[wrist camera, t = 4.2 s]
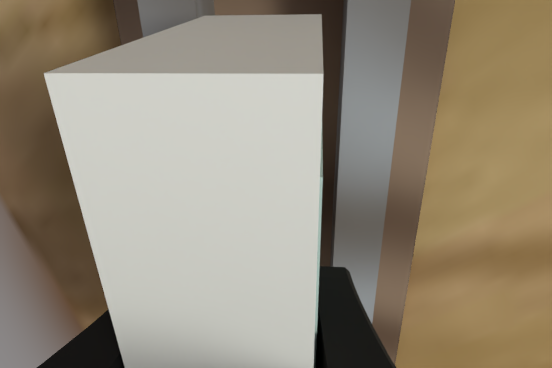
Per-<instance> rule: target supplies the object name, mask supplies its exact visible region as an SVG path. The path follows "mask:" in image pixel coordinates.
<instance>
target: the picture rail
mask: <svg viewBox="0 0 552 368" xmlns="http://www.w3.org/2000/svg"><path fill="white" fill-rule="evenodd" d="M113 2H114V7H115V13H116V18H117V24H118V29H119V35H120V40H121V45H124V44H127V43H130V42H132V41H135V40H138V39H141V38H144V37H146V36H149V35H152V34H155V33H158V32H160V31H163V30H166V29H169V28H172V27H174V26H177V25H180V24H183V23H186V22H188V21H191V20H194V19H197V18H200V17H202V16H216V15H298V14H322V43H323V103H322V149H323V187H322V214H321V241H320V266H330V267H345V268H346V269H347V270H348V271H349V272H350V274H351V278H352V281H353V283H354V286H355V289H356V291H357V293H358V296H359V298H360V300H361V303H362V305H363V307H364V309H365V311H366V313H367V315H368V317H369V319H370V321H371V323H372V325H373V327H374V329H375V331H376V333H377V334H378V336H379V338H380V340H381V342H382V344H383V345H384V347H385V349H386V351H387V353H388V355H389V356H390V358H391V360H392V361H393V363H394V365H395V361H396V355H397V349H398V343H399V337H400V331H401V325H402V318H403V312H404V306H405V300H406V294H407V288H408V282H409V276H410V270H411V264H412V258H413V252H414V246H415V240H416V234H417V228H418V222H419V216H420V210H421V204H422V198H423V191H424V185H425V179H426V173H427V167H428V161H429V155H430V149H431V143H432V137H433V131H434V125H435V119H436V113H437V107H438V101H439V95H440V89H441V83H442V77H443V70H444V64H445V58H446V52H447V46H448V40H449V34H450V28H451V22H452V16H453V10H454V4H455V0H113Z"/></svg>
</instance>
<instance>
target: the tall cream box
mask: <svg viewBox="0 0 552 368" xmlns="http://www.w3.org/2000/svg"><path fill="white" fill-rule="evenodd" d="M44 77H45V80H46V84H47V88H48V91H49V95H50V98H51V102H52V106H53V109H54V113H55V117H56V120H57V124H58V127H59V131H60V135H61V138H62V142H63V146H64V149H65V153H66V156H67V160H68V164H69V167H70V171H71V175H72V178H73V182H74V185H75V189H76V193H77V196H78V200H79V204H80V207H81V211H82V214H83V218H84V222H85V225H86V229H87V233H88V236H89V240H90V244H91V247H92V251H93V254H94V258H95V262H96V265H97V269H98V273H99V276H100V280H101V283H102V287H103V291H104V294H105V298H106V302H107V305H108V309H109V312H110V316H111V320H112V323H113V327H114V331H115V334H116V338H117V341H118V345H119V349H120V352H121V356H122V360H123V363H124V367H125V368H316V348H317V321H318V294H319V267H320V241H321V214H322V187H323V149H322V103H323V43H322V14H298V15H216V16H202V17H200V18H197V19H194V20H191V21H188V22H186V23H183V24H180V25H177V26H174V27H172V28H169V29H166V30H163V31H160V32H158V33H155V34H152V35H149V36H146V37H144V38H141V39H138V40H135V41H132V42H130V43H127V44H124V45H121V46H118V47H116V48H113V49H110V50H107V51H105V52H102V53H99V54H96V55H93V56H91V57H88V58H85V59H82V60H79V61H77V62H74V63H71V64H68V65H65V66H63V67H60V68H57V69H54V70H51V71H49V72H46V73H44Z"/></svg>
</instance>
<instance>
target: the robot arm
mask: <svg viewBox="0 0 552 368" xmlns="http://www.w3.org/2000/svg"><path fill="white" fill-rule="evenodd" d="M37 368H125V367H124V363H123V360H122V356H121V352H120V349H119V345H118V341H117V338H116V334H115V331H114V327H113V323H112V320H111V316H110V312H109V309H108V310H107V311H106V312H105V313H104V314H103V315H102V316H100V317H99V318H98V319H97V320H96V321H95V322H93V323H92V324H91V325H90V326H89V327H88V328H86V329H85V330H84V331H83V332H81V333H80V334H79V335H78V336H76V337H75V338H74V339H73V340H71V341H70V342H69V343H68V344H66V345H65V346H64V347H63V348H61V349H60V350H59V351H57V352H56V353H55V354H54V355H52V356H51V357H50V358H49V359H47V360H46V361H45V362H44V363H43V364H41V365H40V366H38V367H37ZM316 368H396V366H395V365H394V363H393V361H392V360H391V358H390V356H389V355H388V353H387V351H386V349H385V347H384V345H383V344H382V342H381V340H380V338H379V336H378V334H377V333H376V331H375V329H374V327H373V325H372V323H371V321H370V319H369V317H368V315H367V313H366V311H365V309H364V307H363V305H362V303H361V300H360V298H359V296H358V293H357V291H356V289H355V286H354V283H353V281H352V278H351V274H350V272H349V271H348V270H347V269H346V268H345V267H330V266H320V267H319V294H318V321H317V348H316Z"/></svg>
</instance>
